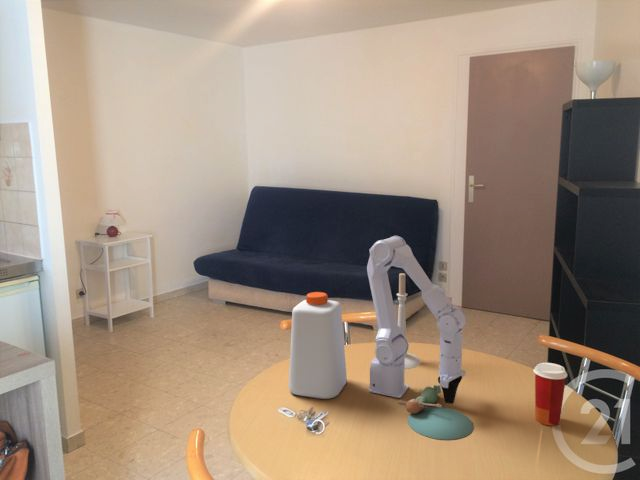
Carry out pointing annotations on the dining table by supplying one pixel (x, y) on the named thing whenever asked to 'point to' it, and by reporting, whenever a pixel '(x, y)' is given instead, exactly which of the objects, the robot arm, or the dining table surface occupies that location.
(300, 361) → the plastic bottle
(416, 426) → the mat
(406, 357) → the candlestick
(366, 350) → the dining table surface
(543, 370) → the paper cup
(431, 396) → the toy
